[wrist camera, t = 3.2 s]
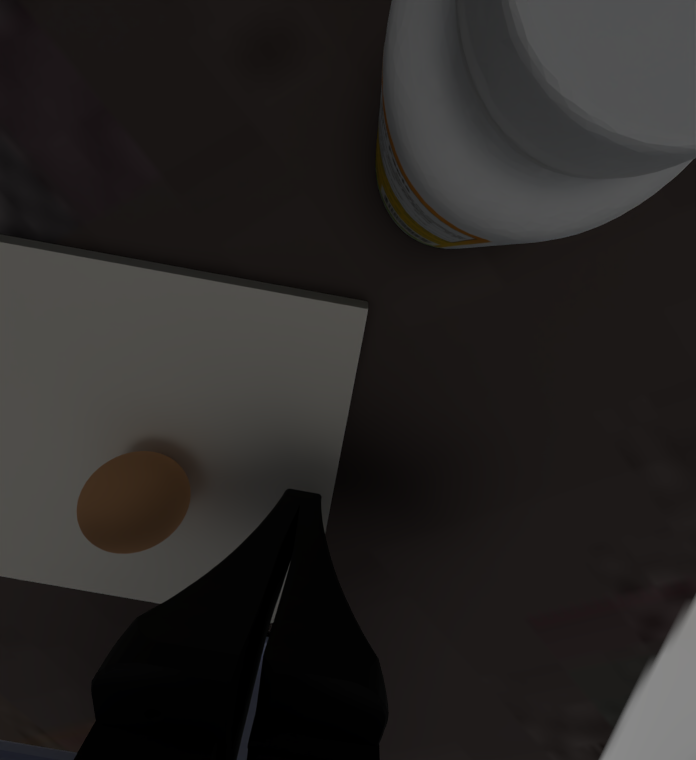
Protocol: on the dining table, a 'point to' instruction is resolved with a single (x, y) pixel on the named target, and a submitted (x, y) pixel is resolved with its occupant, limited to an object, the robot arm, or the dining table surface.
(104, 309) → the white flat board
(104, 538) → the ball
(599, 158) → the supplement bottle
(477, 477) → the dining table surface
